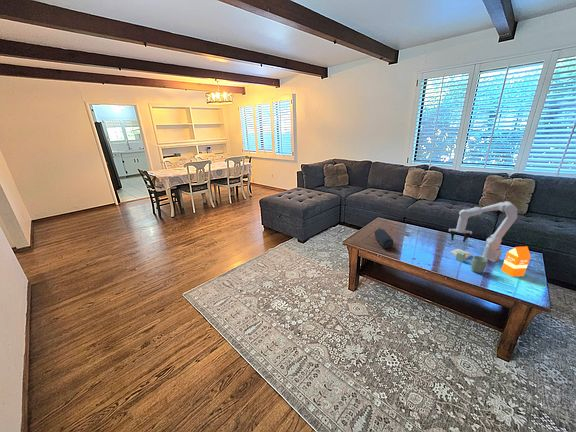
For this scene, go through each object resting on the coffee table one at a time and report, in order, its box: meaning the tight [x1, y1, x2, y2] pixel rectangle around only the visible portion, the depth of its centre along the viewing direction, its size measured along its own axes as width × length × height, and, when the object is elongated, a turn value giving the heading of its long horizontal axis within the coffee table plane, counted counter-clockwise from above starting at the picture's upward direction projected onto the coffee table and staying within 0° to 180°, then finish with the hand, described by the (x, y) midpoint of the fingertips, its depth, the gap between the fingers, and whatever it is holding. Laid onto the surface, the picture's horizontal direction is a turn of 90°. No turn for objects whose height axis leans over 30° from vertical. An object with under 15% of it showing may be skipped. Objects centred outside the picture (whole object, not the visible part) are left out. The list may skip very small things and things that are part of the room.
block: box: [455, 252, 466, 263], centre depth 177 cm, size 4×4×6 cm
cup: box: [470, 255, 489, 274], centre depth 162 cm, size 8×8×10 cm
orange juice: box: [501, 246, 531, 277], centre depth 158 cm, size 8×9×20 cm
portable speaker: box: [374, 228, 394, 249], centre depth 206 cm, size 25×10×10 cm, turn 178°
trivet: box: [450, 248, 473, 260], centre depth 185 cm, size 10×10×3 cm
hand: (457, 241), depth 186 cm, fingers open, 7 cm apart
